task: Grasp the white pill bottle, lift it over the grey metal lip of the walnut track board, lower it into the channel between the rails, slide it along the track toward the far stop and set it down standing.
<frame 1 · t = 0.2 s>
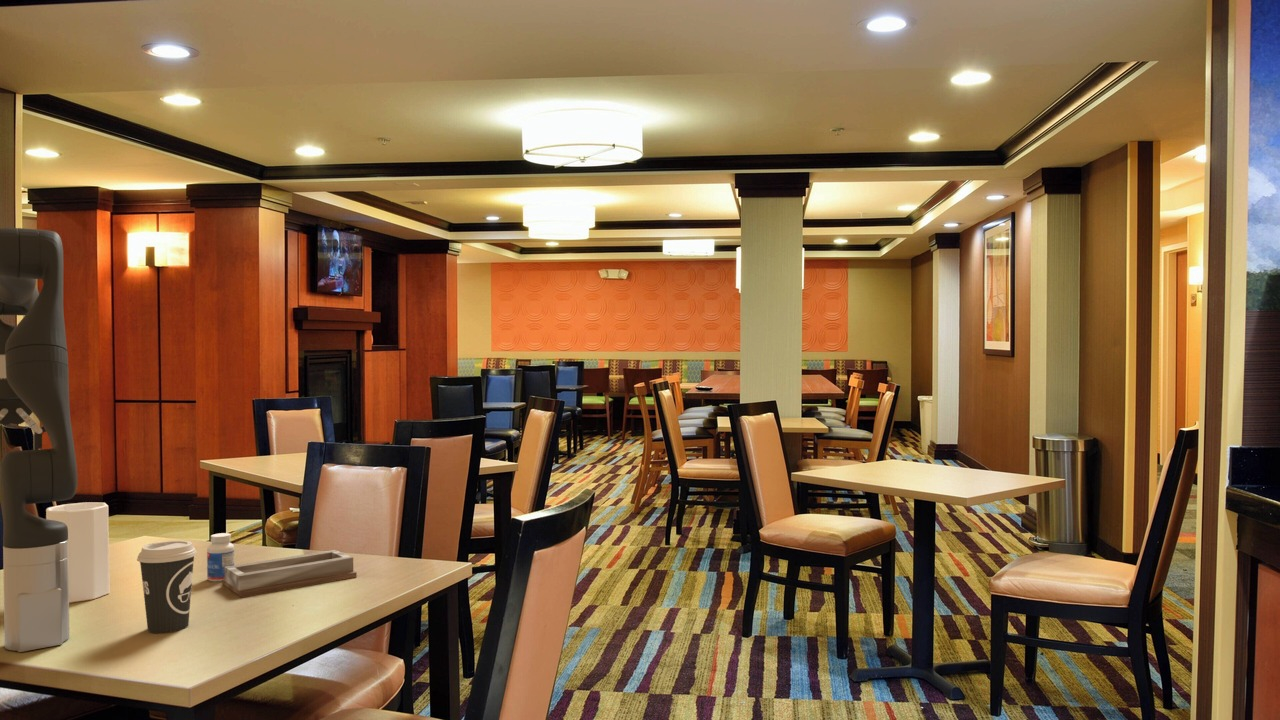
hand: (11, 453, 185), 29 cm above the table, fingers open, 8 cm apart
pill bottle: (221, 579, 193), on the table
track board: (290, 580, 191), on the table
cup: (78, 597, 180), on the table
coffee cup: (168, 628, 158), on the table
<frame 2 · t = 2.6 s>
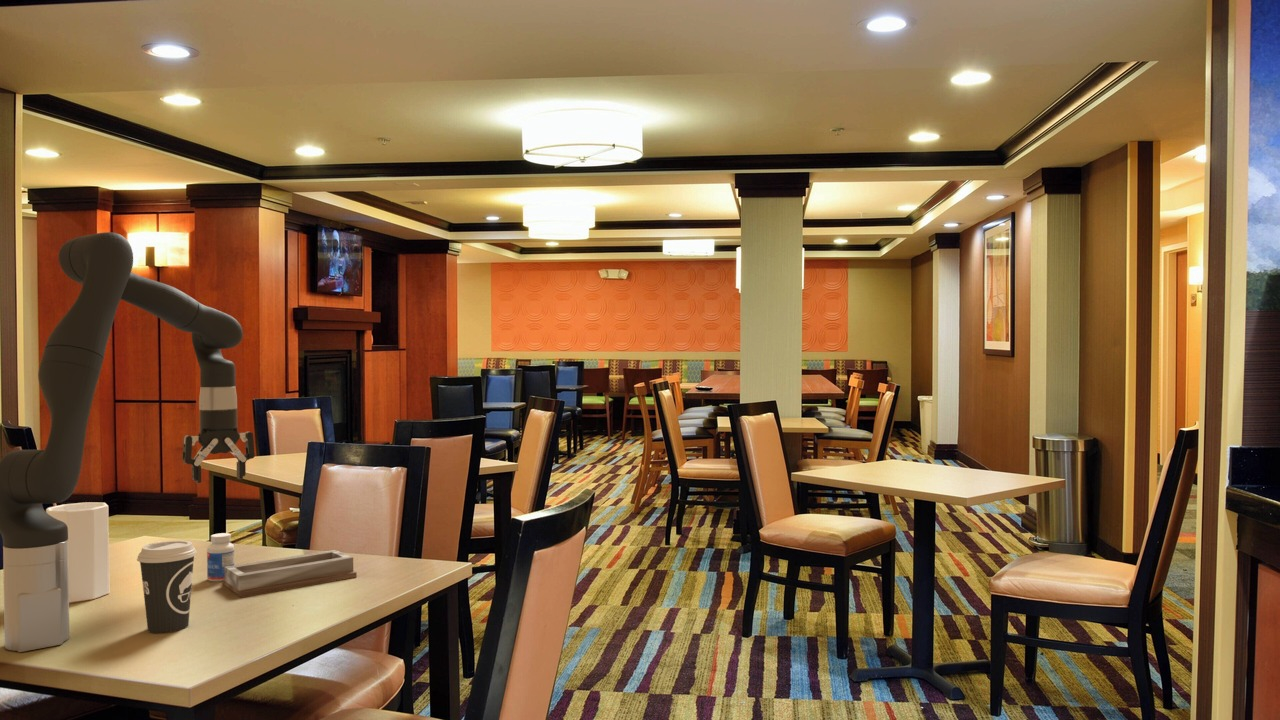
hand: (219, 480, 193), 22 cm above the table, fingers open, 8 cm apart
nothing on the table moved.
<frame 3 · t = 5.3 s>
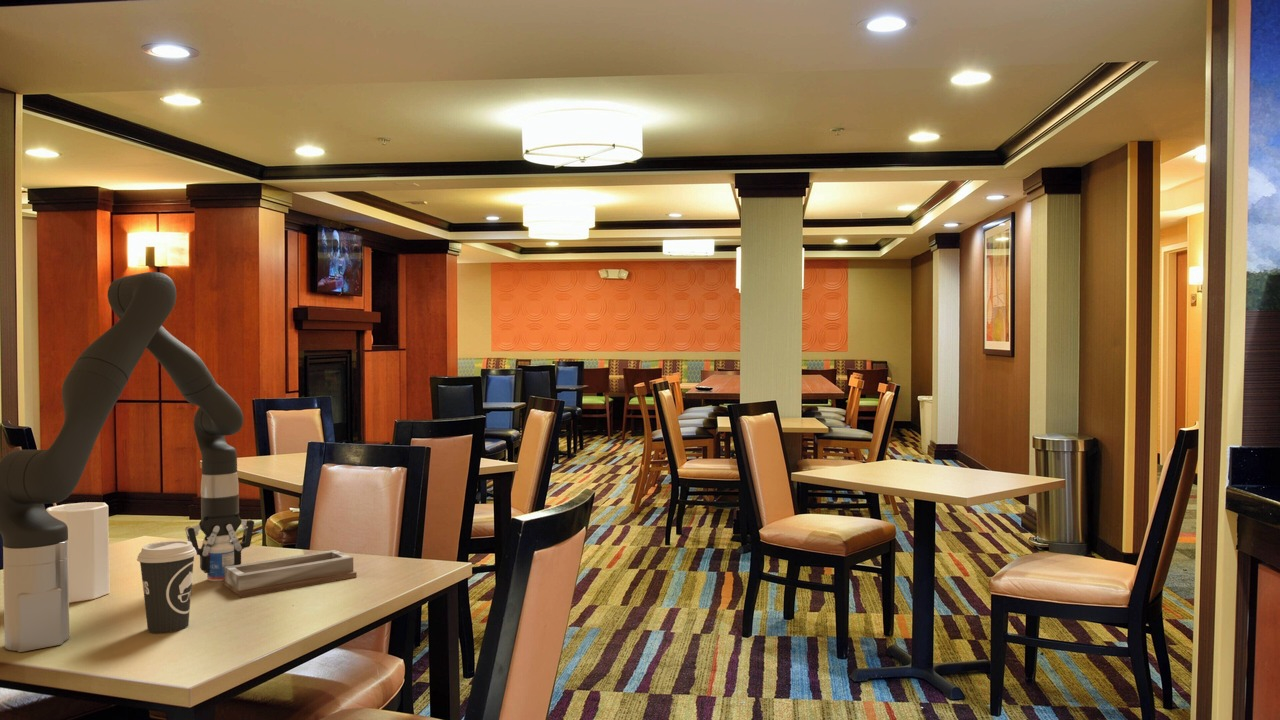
hand: (221, 569, 193), 2 cm above the table, fingers closed on pill bottle, 5 cm apart
pill bottle: (221, 579, 193), on the table, touching gripper
everything else where it was.
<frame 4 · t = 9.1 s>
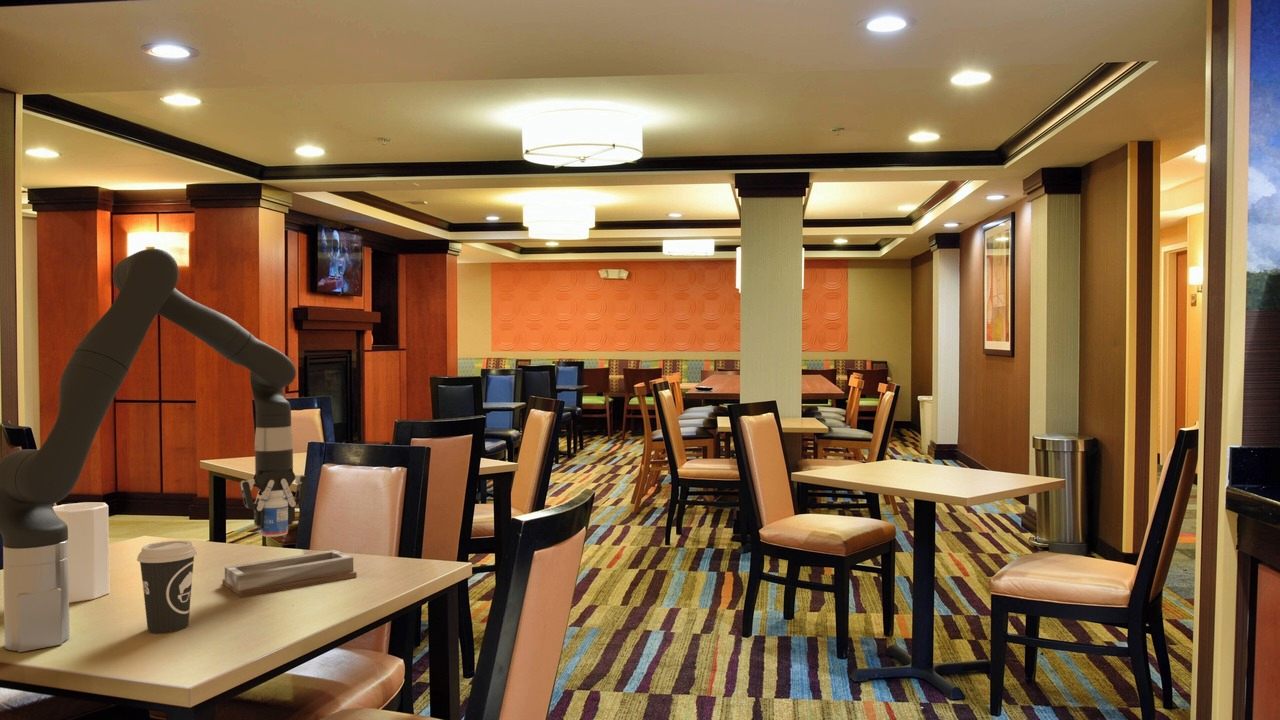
hand: (275, 525, 189), 12 cm above the table, fingers closed on pill bottle, 5 cm apart
pill bottle: (274, 535, 189), point 10 cm above the table, touching gripper
everything else where it was.
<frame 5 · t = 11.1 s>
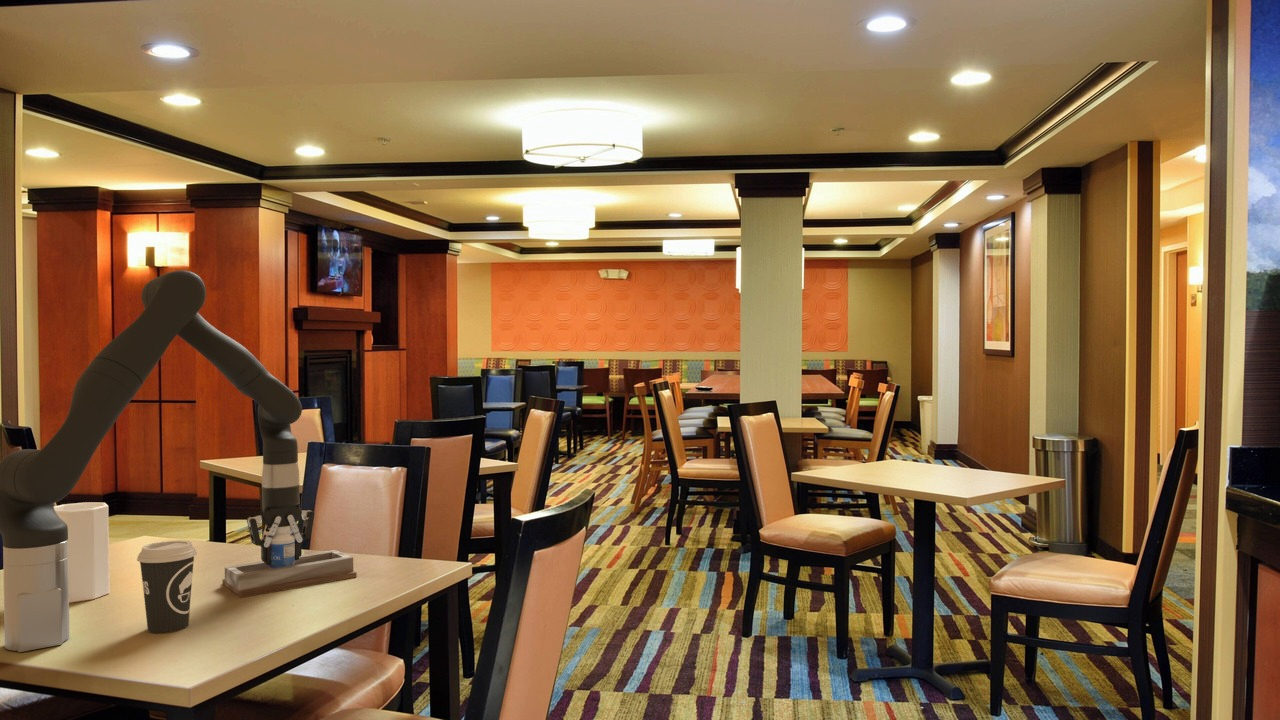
hand: (281, 561, 190), 4 cm above the table, fingers closed on pill bottle, 5 cm apart
pill bottle: (281, 571, 190), point 2 cm above the table, touching gripper
everything else where it was.
when the fingers open (4 cm above the table, at t = 12.9 s): pill bottle drops 1 cm, resting on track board.
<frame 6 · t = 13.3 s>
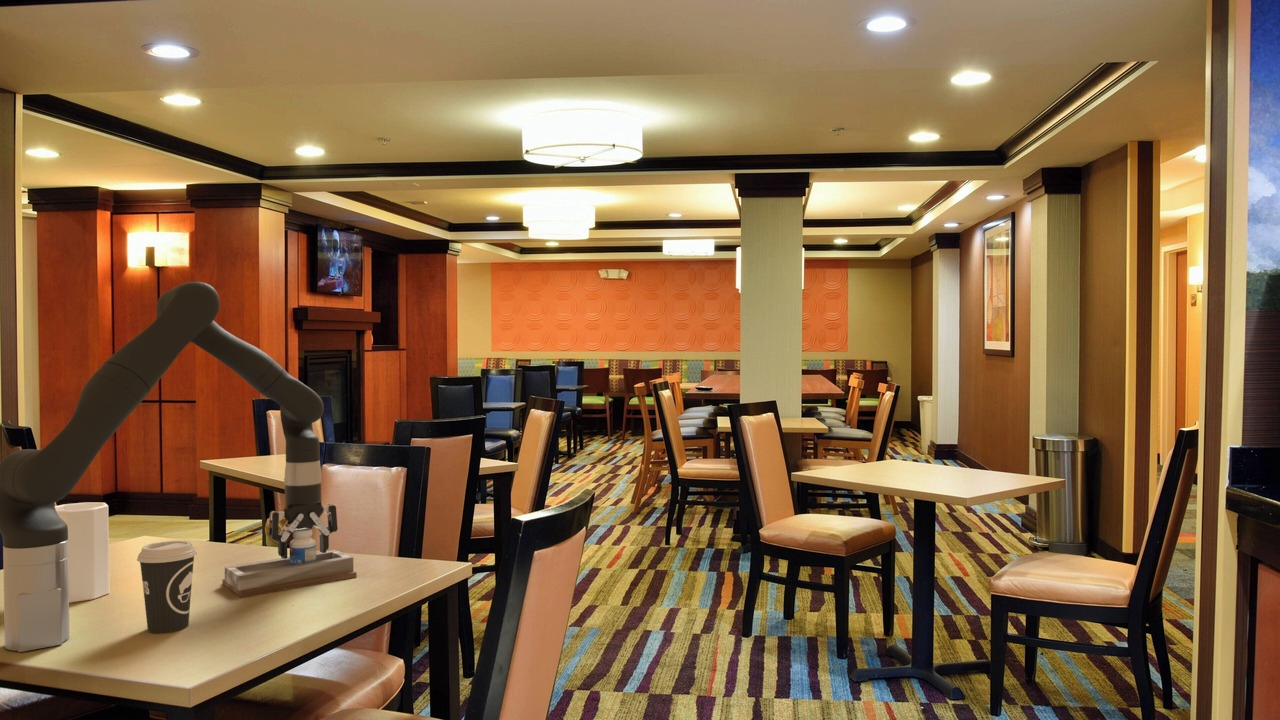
hand: (304, 555, 193), 5 cm above the table, fingers open, 8 cm apart
pill bottle: (303, 574, 193), point 1 cm above the table, touching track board
everything else where it was.
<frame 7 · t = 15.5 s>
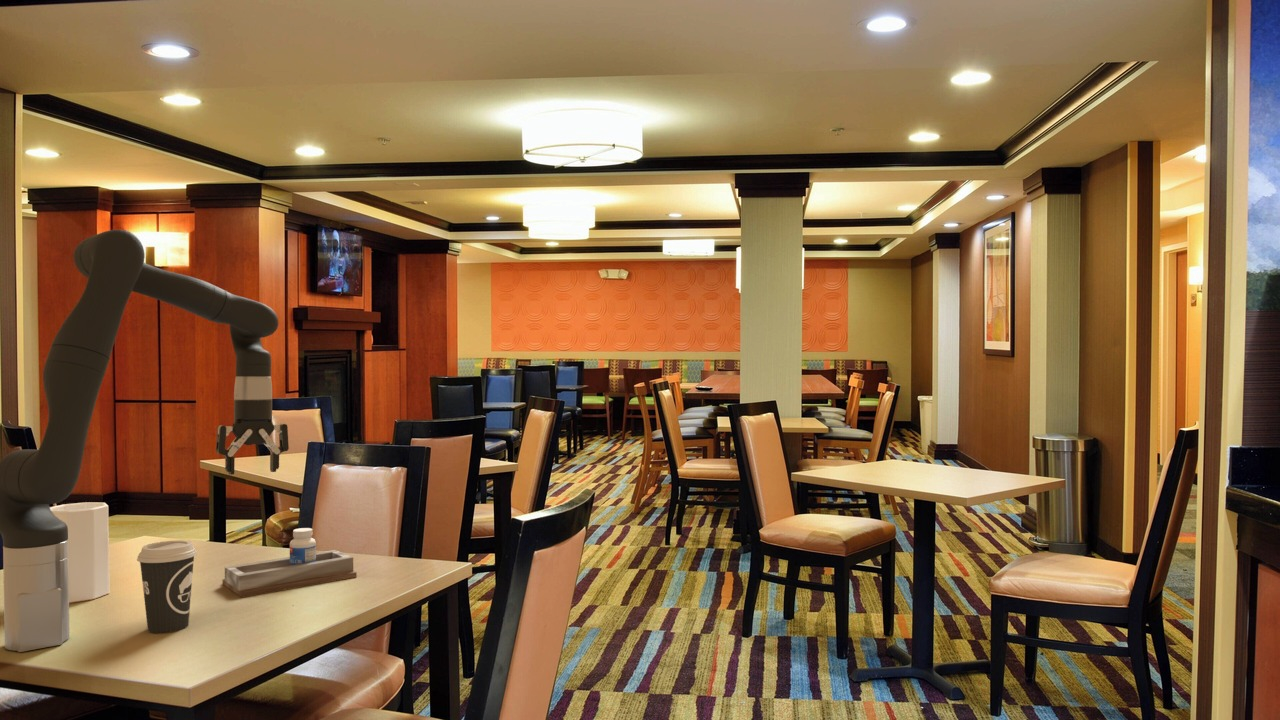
hand: (252, 473, 188), 24 cm above the table, fingers open, 8 cm apart
nothing on the table moved.
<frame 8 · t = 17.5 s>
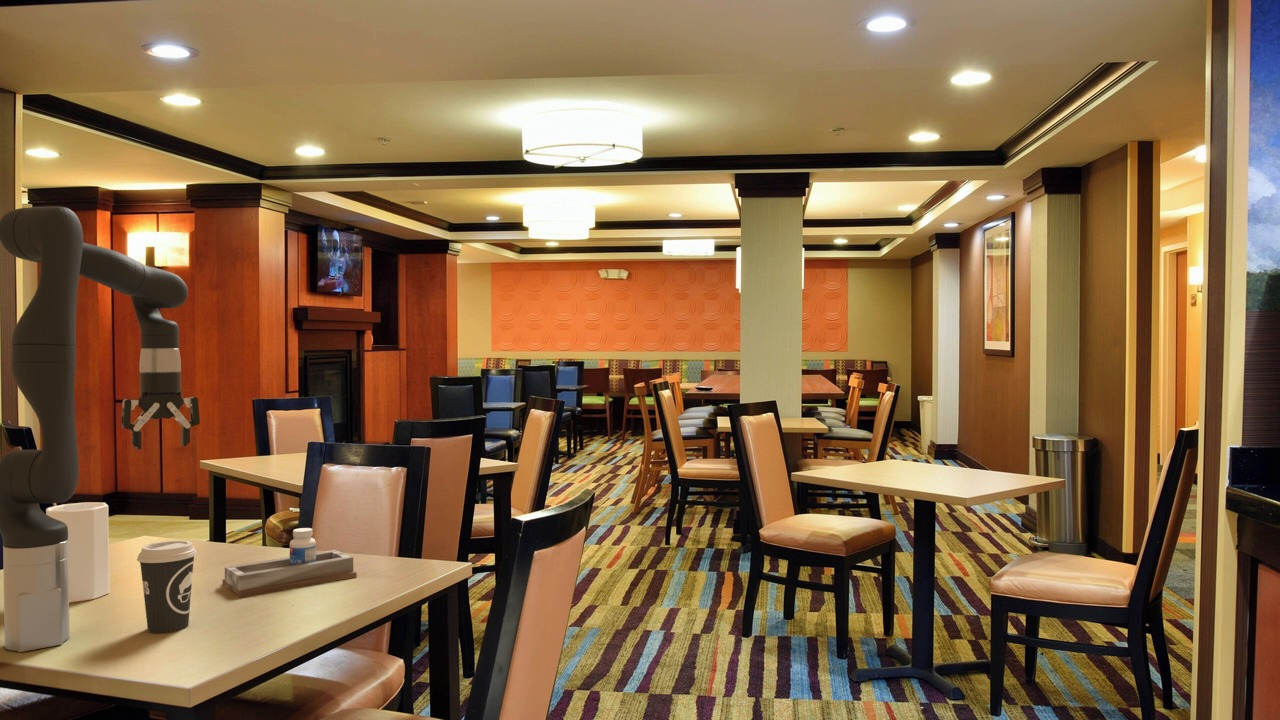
hand: (161, 447, 183), 30 cm above the table, fingers open, 8 cm apart
nothing on the table moved.
at the end: pill bottle inside the target area on the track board (2.7 cm from its centre), point 0.8 cm above the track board's base; pill bottle tilted 0°; the gripper is holding nothing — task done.
